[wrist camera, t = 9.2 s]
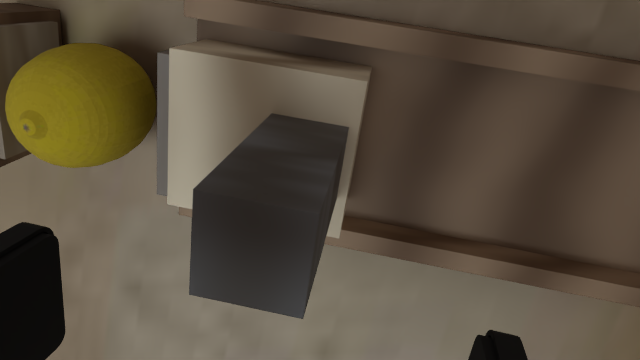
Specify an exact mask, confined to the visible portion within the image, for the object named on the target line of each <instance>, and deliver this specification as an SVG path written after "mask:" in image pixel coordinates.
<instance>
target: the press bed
mask: <svg viewBox="0 0 640 360" xmlns="http://www.w3.org/2000/svg"><path fill="white" fill-rule="evenodd" d="M184 17H190V18H196V19H198V24H197V41H201V40H205V39H209V40H215V41H221V42H227V43H233V44H239V45H245V46H251V47H256V48H262V49H268V50H274V51H280V52H286V53H292V54H298V55H304V56H310V57H316V58H322V59H328V60H334V61H340V62H346V63H352V64H358V65H364V66H370V67H372V70H371V75H370V81H369V86H368V92H367V97H366V103H365V108H364V114H363V119H362V125H361V130H360V136H359V141H358V146H357V152H356V157H355V163H354V168H353V174H352V179H351V185H350V190H349V196H348V201H347V206H346V210H345V215H344V219H343V223H342V228H341V232H340V237H339V238H333V237H328V236H326V239H325V242H324V244H328V245H333V246H338V247H343V248H348V249H353V250H358V251H363V252H368V253H373V254H378V255H382V256H387V257H392V258H397V259H402V260H407V261H412V262H417V263H422V264H427V265H432V266H437V267H442V268H447V269H452V270H457V271H462V272H467V273H472V274H477V275H482V276H487V277H492V278H497V279H502V280H507V281H512V282H517V283H522V284H527V285H532V286H537V287H542V288H547V289H552V290H557V291H561V292H566V293H571V294H576V295H581V296H586V297H591V298H596V299H601V300H606V301H611V302H616V303H621V304H626V305H631V306H636V307H640V61H636V60H629V59H623V58H617V57H610V56H604V55H598V54H591V53H585V52H579V51H572V50H566V49H560V48H554V47H547V46H541V45H535V44H528V43H522V42H516V41H509V40H503V39H497V38H490V37H484V36H478V35H472V34H465V33H459V32H453V31H446V30H440V29H434V28H427V27H421V26H415V25H408V24H402V23H396V22H390V21H383V20H377V19H371V18H364V17H358V16H352V15H345V14H339V13H333V12H326V11H320V10H314V9H308V8H301V7H295V6H289V5H282V4H276V3H270V2H263V1H257V0H184ZM179 215H184V216H189V217H192V209H188V208H183V207H179Z"/></svg>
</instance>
